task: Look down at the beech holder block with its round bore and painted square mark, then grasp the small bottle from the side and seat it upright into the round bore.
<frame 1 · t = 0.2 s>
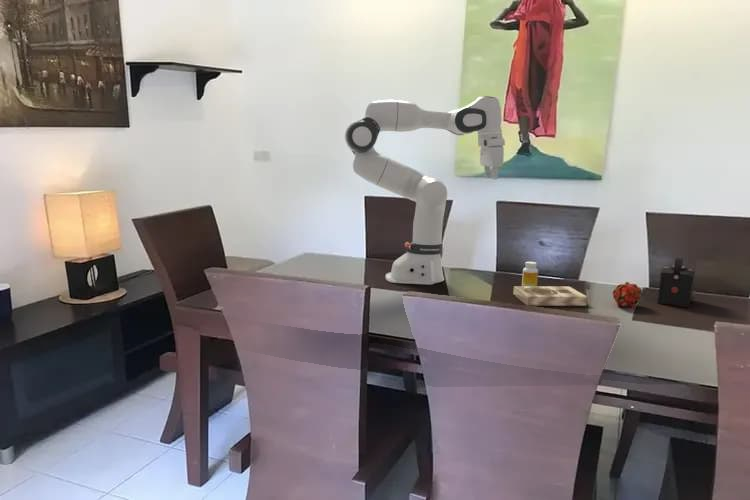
hand: (491, 178, 213), 39 cm above the table, tool pointing down, fingers open, 8 cm apart
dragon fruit: (625, 307, 186), on the table
supplement bottle: (529, 289, 207), on the table
camera: (675, 302, 194), on the table
holder block: (548, 299, 192), on the table
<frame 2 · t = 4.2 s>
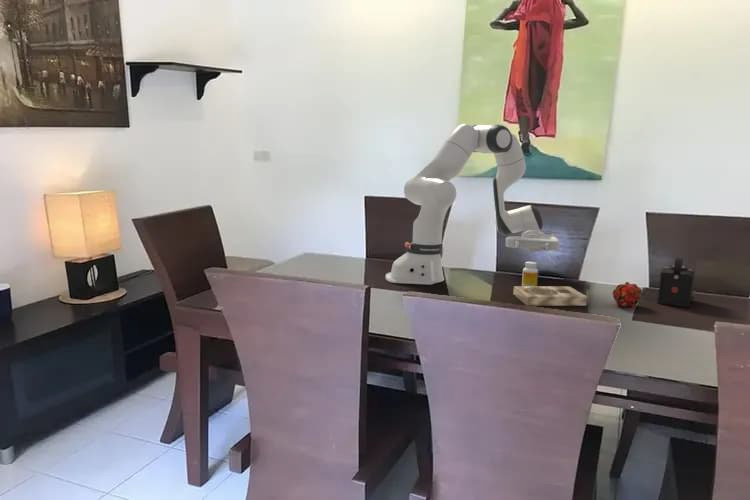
hand: (531, 246, 216), 14 cm above the table, tool horizontal, fingers open, 8 cm apart
nothing on the table moved.
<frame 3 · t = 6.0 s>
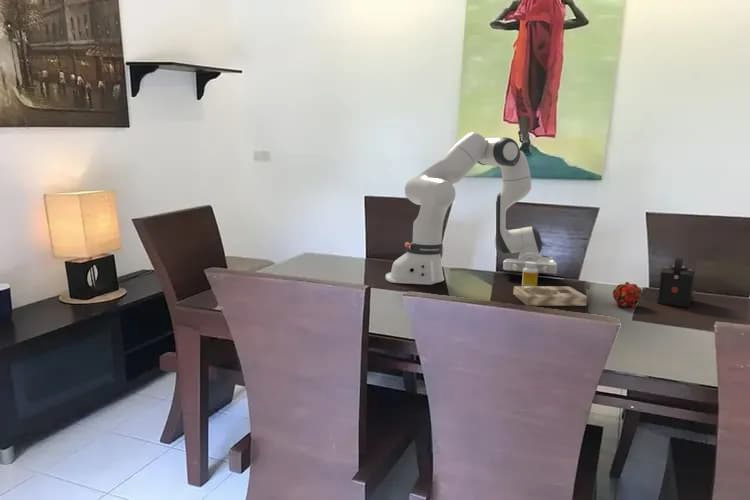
hand: (529, 269, 214), 5 cm above the table, tool horizontal, fingers open, 8 cm apart
nothing on the table moved.
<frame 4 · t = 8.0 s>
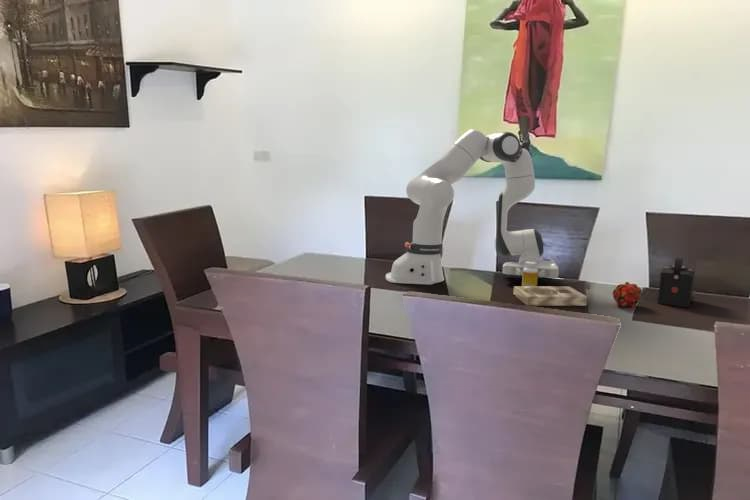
hand: (530, 274, 205), 6 cm above the table, tool horizontal, fingers closed on supplement bottle, 5 cm apart
supplement bottle: (529, 289, 207), on the table, touching gripper
everything else where it was.
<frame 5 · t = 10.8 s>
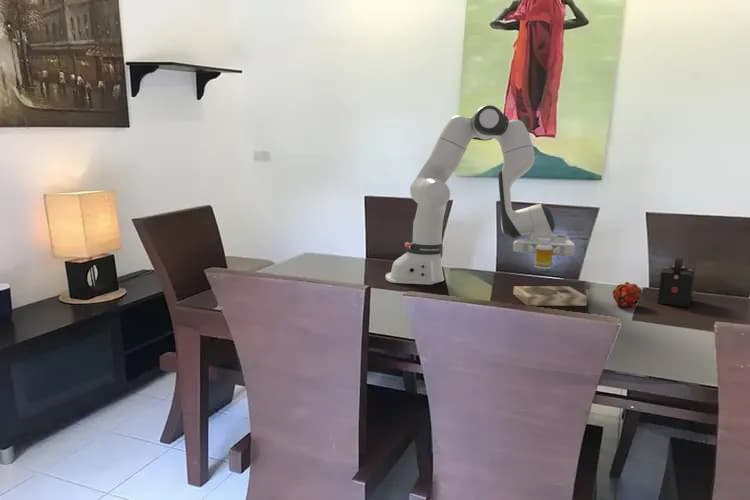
hand: (544, 250, 188), 17 cm above the table, tool horizontal, fingers closed on supplement bottle, 5 cm apart
supplement bottle: (542, 267, 190), point 11 cm above the table, touching gripper
everything else where it was.
when the fingers open (7 cm above the table, at t = 13.5 s): supplement bottle drops 1 cm, resting in holder block.
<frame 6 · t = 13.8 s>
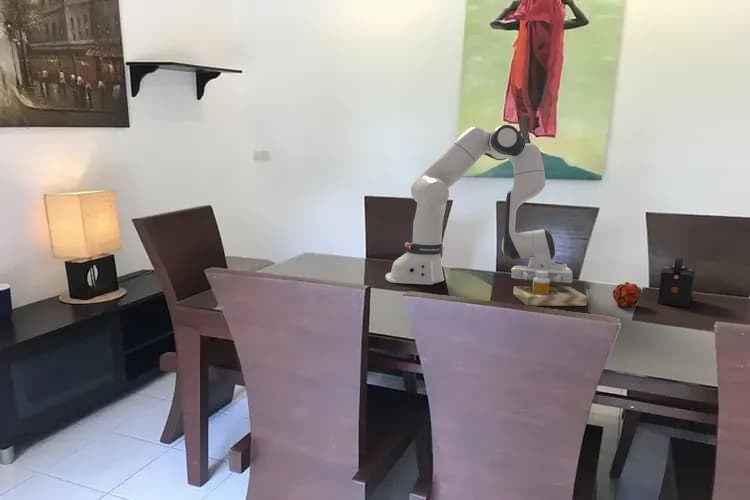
hand: (541, 278, 189), 7 cm above the table, tool horizontal, fingers open, 8 cm apart
supplement bottle: (539, 300, 191), resting in holder block
everything else where it was.
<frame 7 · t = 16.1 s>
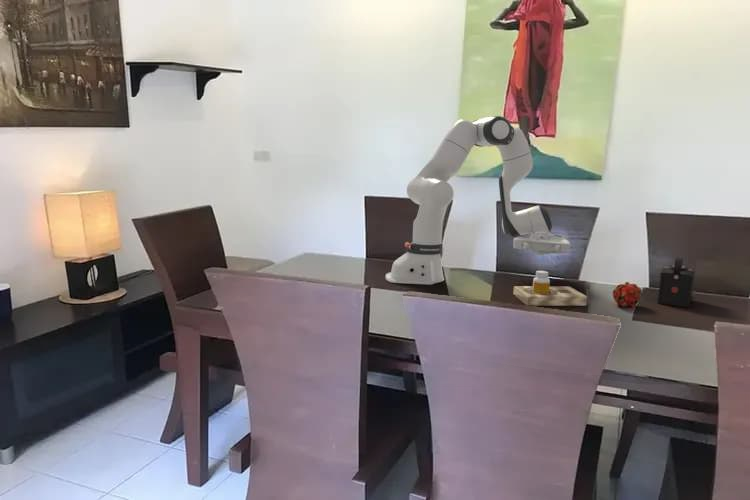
hand: (541, 247, 204), 15 cm above the table, tool horizontal, fingers open, 8 cm apart
nothing on the table moved.
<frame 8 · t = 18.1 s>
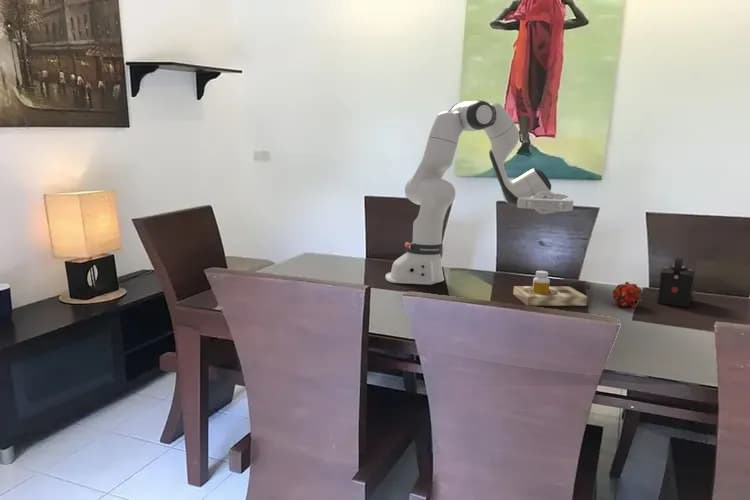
hand: (545, 205, 208), 30 cm above the table, tool horizontal, fingers open, 8 cm apart
nothing on the table moved.
at the end: supplement bottle 0.1 cm from the target spot in the holder block, point 0.0 cm above the holder block's base; supplement bottle tilted 0°; the gripper is holding nothing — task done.
